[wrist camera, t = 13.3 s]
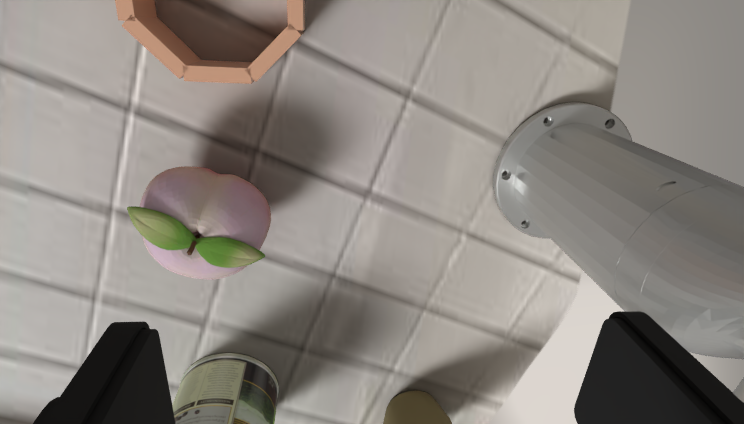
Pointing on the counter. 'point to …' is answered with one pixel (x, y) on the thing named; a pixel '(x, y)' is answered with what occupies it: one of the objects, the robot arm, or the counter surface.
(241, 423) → the coffee can
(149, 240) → the decorative fruit
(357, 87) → the counter surface
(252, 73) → the terracotta ring
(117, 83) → the counter surface
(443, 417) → the squeeze bottle
